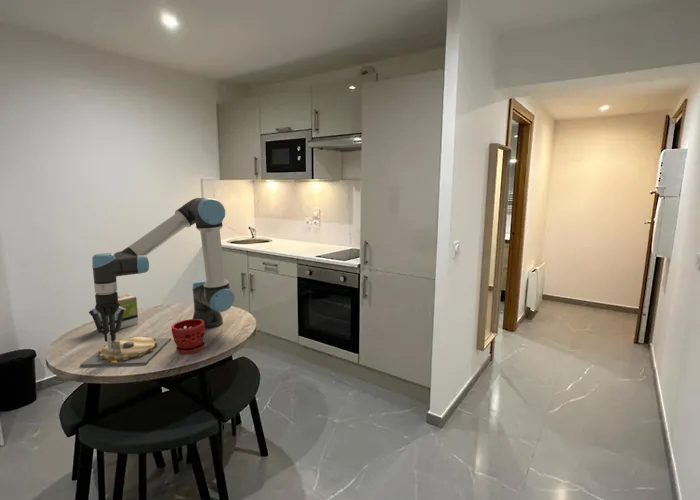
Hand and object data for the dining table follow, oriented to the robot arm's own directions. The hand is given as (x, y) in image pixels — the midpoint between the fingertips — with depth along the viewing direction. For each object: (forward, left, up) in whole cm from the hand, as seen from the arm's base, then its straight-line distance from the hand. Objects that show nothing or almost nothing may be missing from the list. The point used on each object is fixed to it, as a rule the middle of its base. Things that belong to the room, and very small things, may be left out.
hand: (111, 348), depth 155 cm
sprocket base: (-3, -7, -5) cm, 9 cm away
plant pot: (-28, -8, -5) cm, 30 cm away
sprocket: (-3, -7, -4) cm, 9 cm away
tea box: (+18, -40, -5) cm, 44 cm away
